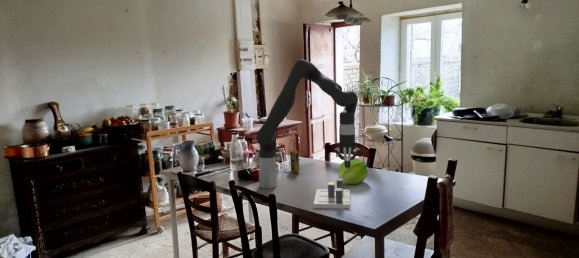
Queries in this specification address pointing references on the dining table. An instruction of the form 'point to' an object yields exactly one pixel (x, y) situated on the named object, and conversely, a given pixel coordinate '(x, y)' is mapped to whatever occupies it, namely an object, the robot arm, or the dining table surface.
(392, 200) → the dining table surface
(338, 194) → the block
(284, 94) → the robot arm
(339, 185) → the block
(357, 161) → the lettuce
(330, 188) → the block
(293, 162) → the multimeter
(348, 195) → the breaker panel
